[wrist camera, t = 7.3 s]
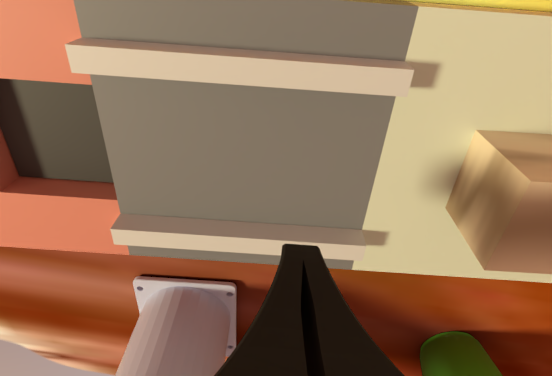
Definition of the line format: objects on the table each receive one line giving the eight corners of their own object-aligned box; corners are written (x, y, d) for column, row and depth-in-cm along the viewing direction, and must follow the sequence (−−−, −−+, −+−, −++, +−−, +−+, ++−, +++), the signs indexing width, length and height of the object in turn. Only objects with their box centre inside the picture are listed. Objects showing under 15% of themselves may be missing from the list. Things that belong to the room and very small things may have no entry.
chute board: (538, 262, 26) (570, 301, 23) (-43, 223, 25) (-86, 257, 23) (694, 22, 17) (777, 36, 14) (-189, -44, 17) (-290, -44, 14)
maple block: (528, 212, 21) (588, 276, 17) (445, 207, 21) (484, 270, 17) (571, 135, 18) (655, 189, 14) (475, 129, 18) (531, 181, 14)
